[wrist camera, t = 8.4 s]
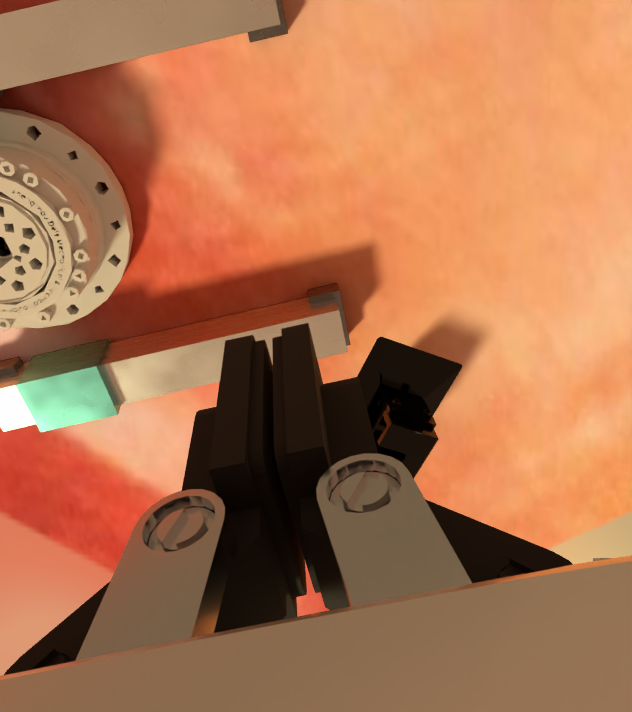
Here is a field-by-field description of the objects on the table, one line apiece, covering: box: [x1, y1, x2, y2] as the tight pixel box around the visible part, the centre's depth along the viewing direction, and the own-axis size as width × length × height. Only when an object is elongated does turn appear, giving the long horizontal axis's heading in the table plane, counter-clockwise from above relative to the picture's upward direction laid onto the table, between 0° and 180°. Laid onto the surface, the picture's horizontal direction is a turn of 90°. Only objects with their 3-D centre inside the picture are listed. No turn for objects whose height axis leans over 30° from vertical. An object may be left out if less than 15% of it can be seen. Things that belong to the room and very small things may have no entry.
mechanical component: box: [0, 108, 133, 331], centre depth 27 cm, size 10×4×10 cm
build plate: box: [357, 337, 462, 479], centre depth 34 cm, size 12×7×5 cm, turn 156°
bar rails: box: [0, 0, 350, 432], centre depth 27 cm, size 19×18×3 cm
